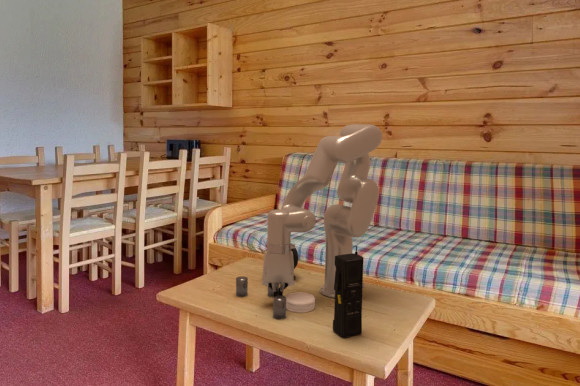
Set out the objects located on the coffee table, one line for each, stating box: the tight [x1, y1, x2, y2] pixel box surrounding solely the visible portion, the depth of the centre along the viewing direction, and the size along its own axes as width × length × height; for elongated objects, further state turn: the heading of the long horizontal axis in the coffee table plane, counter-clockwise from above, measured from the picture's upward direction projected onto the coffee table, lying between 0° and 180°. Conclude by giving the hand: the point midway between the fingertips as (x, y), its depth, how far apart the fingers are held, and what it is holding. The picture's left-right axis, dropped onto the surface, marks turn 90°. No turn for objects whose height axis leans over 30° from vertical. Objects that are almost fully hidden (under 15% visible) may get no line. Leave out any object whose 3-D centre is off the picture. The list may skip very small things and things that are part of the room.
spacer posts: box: [235, 275, 287, 320], centre depth 147 cm, size 17×22×6 cm
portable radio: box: [332, 245, 364, 339], centre depth 127 cm, size 8×6×25 cm
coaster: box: [284, 291, 316, 314], centre depth 147 cm, size 10×10×4 cm
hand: (277, 301), depth 148 cm, fingers closed
